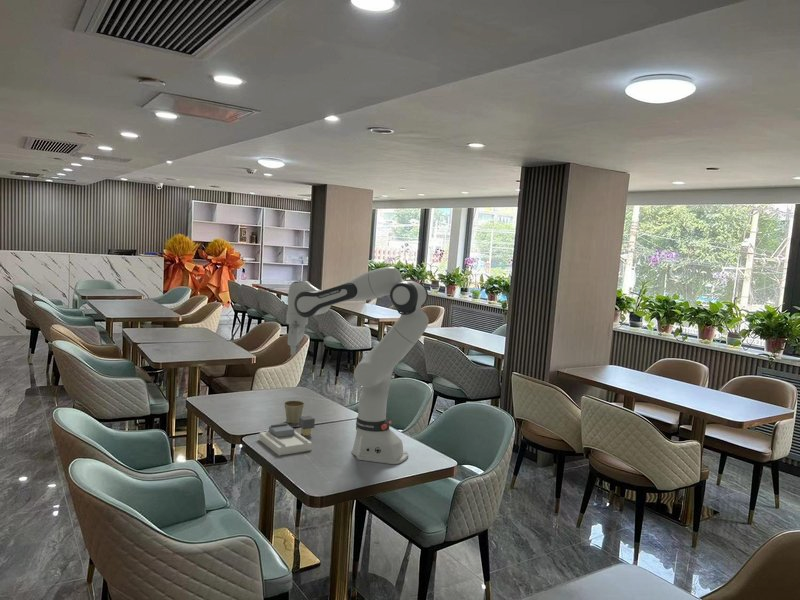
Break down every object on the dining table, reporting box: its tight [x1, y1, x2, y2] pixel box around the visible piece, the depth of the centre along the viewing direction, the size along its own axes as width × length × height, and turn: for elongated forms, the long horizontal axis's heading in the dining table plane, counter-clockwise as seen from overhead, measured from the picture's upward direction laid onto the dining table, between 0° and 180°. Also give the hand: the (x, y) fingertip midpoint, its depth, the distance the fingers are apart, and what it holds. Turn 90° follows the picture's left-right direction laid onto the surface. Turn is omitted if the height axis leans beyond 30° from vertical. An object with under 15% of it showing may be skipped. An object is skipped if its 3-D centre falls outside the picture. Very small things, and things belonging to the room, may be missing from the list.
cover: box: [268, 422, 295, 438], centre depth 238 cm, size 7×8×3 cm
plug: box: [298, 415, 316, 437], centre depth 250 cm, size 5×5×7 cm
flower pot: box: [283, 400, 306, 424], centre depth 266 cm, size 9×9×9 cm
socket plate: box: [258, 430, 313, 456], centre depth 235 cm, size 20×14×4 cm
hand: (294, 352), depth 242 cm, fingers open, 8 cm apart
